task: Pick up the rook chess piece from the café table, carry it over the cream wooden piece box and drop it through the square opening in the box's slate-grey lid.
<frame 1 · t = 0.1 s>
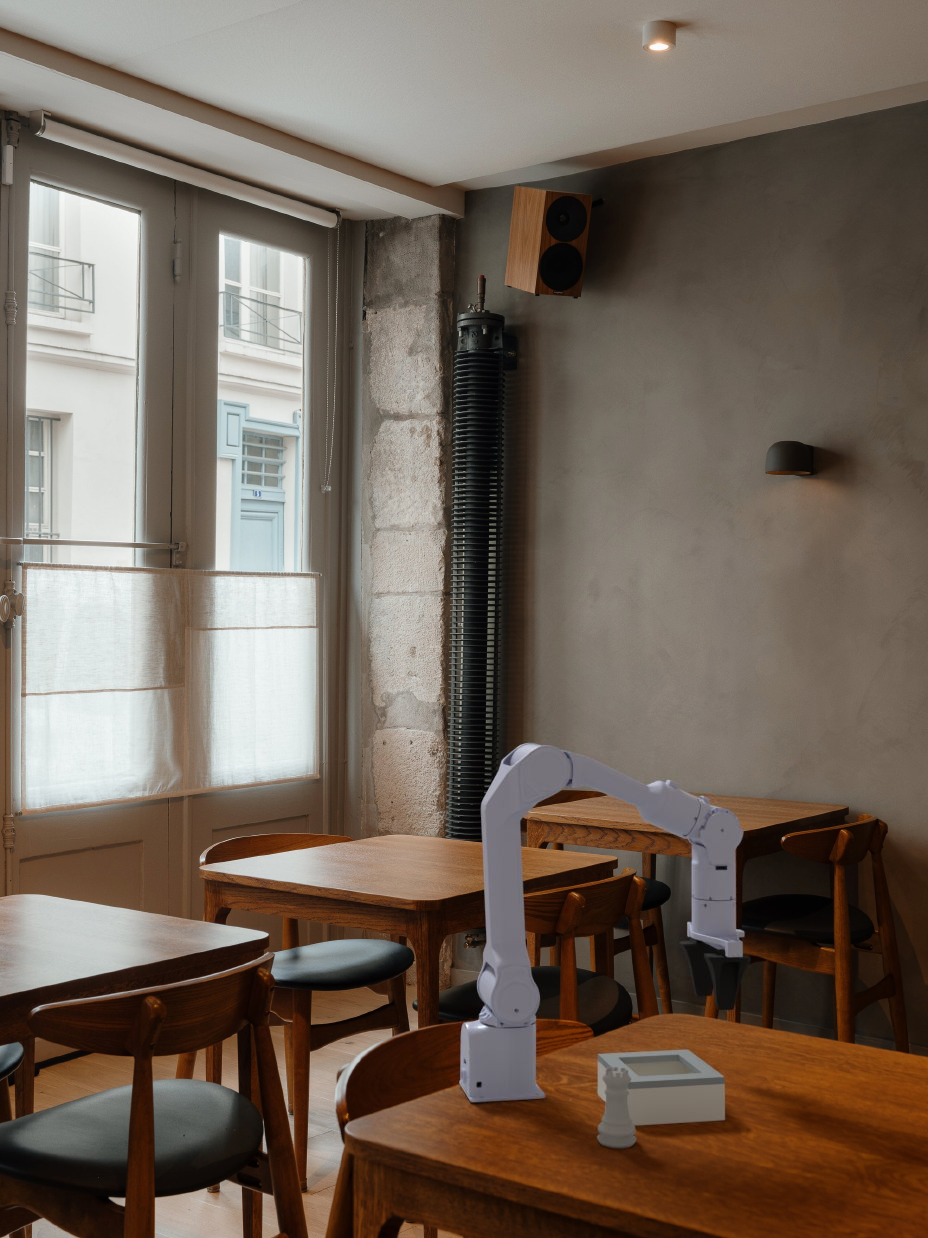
hand: (714, 1002, 166), 10 cm above the table, tool pointing down, fingers open, 7 cm apart
rook chess piece: (616, 1144, 142), on the table
piece box: (659, 1107, 155), on the table
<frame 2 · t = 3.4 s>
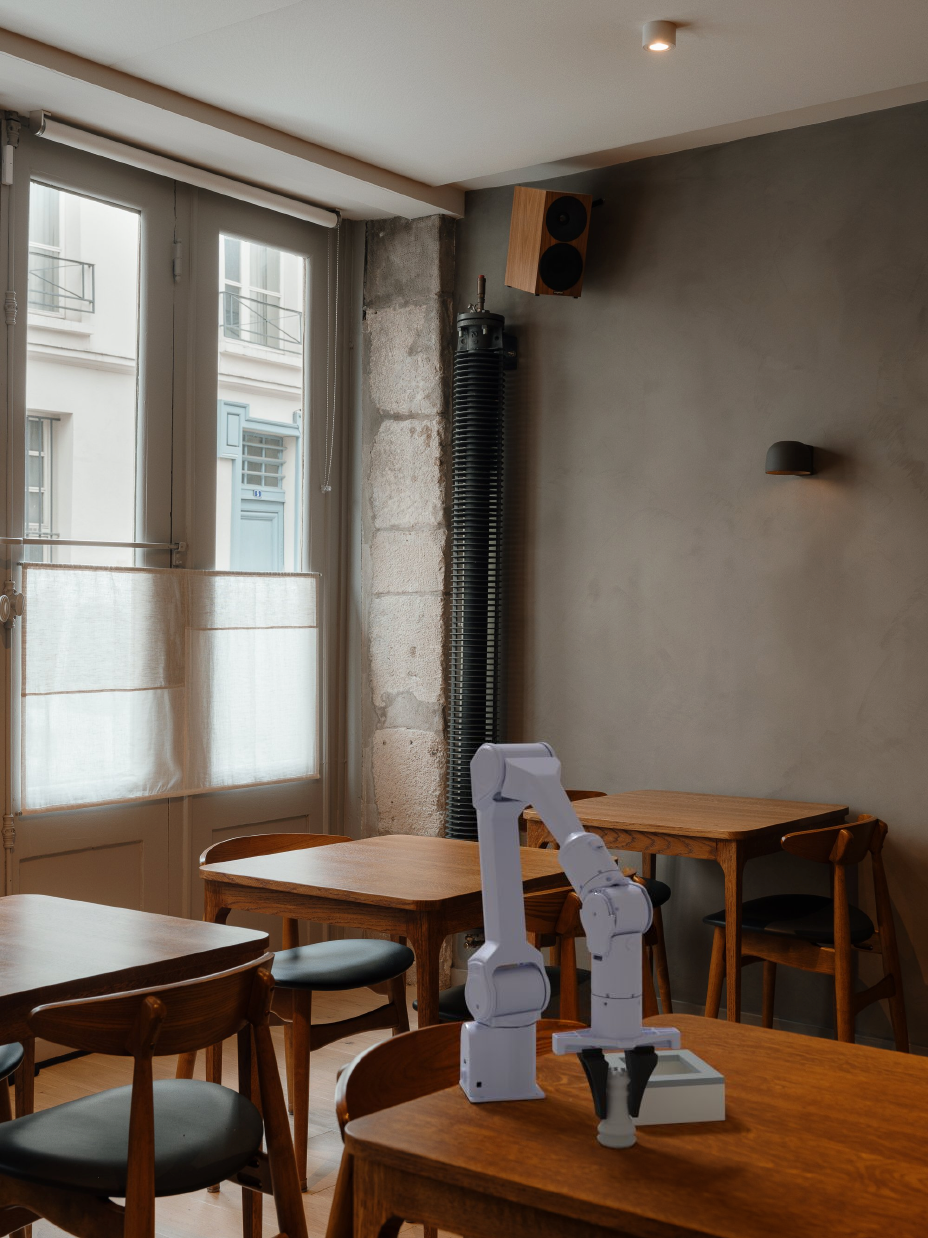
hand: (616, 1116, 143), 3 cm above the table, tool pointing down, fingers closed on rook chess piece, 3 cm apart
rook chess piece: (616, 1144, 142), on the table, touching gripper
when the fingers open (6 cm above the table, at t = 10.2 s): rook chess piece stays where it is, resting on piece box.
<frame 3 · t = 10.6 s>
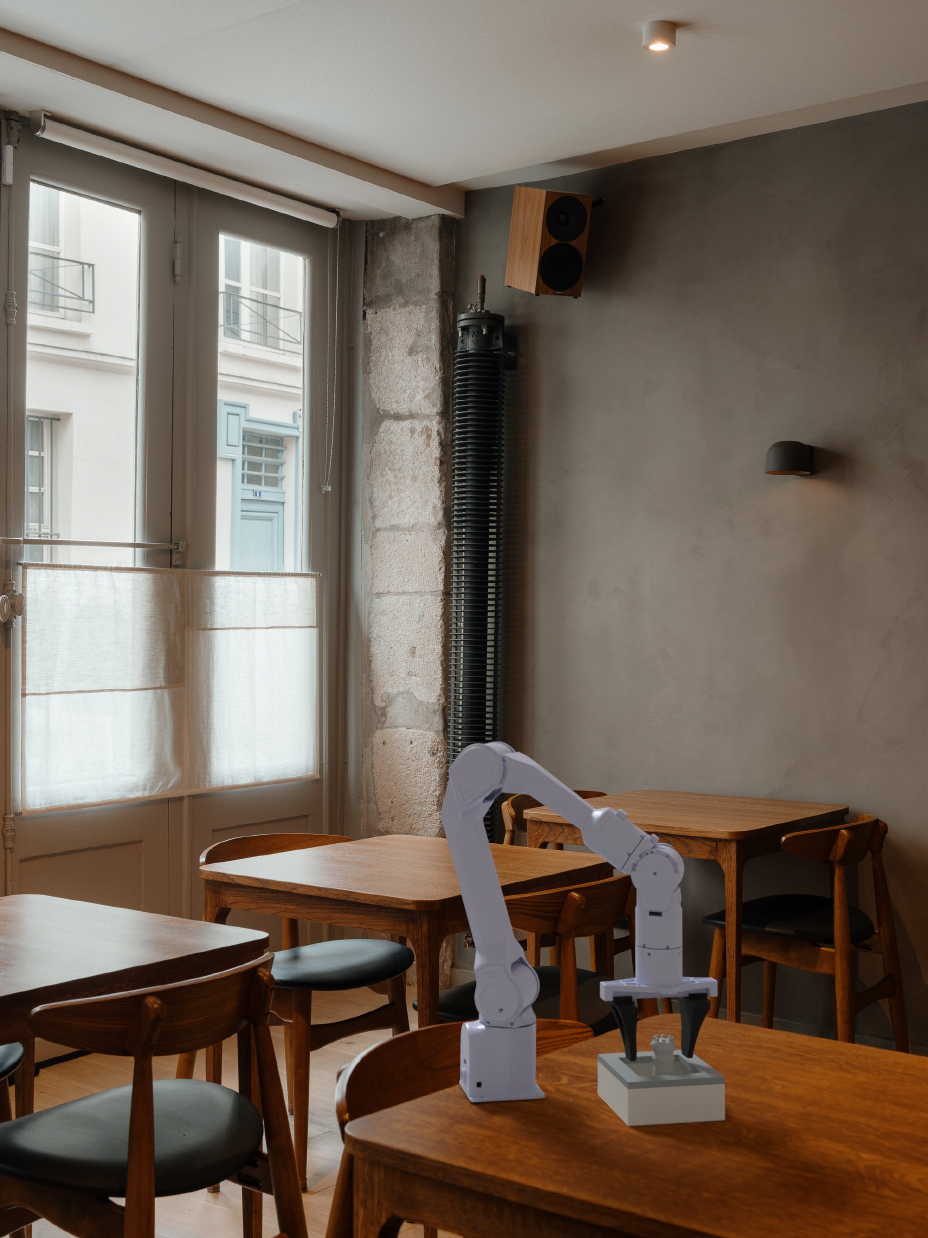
hand: (659, 1057, 155), 6 cm above the table, tool pointing down, fingers open, 7 cm apart
rook chess piece: (663, 1106, 154), resting on piece box
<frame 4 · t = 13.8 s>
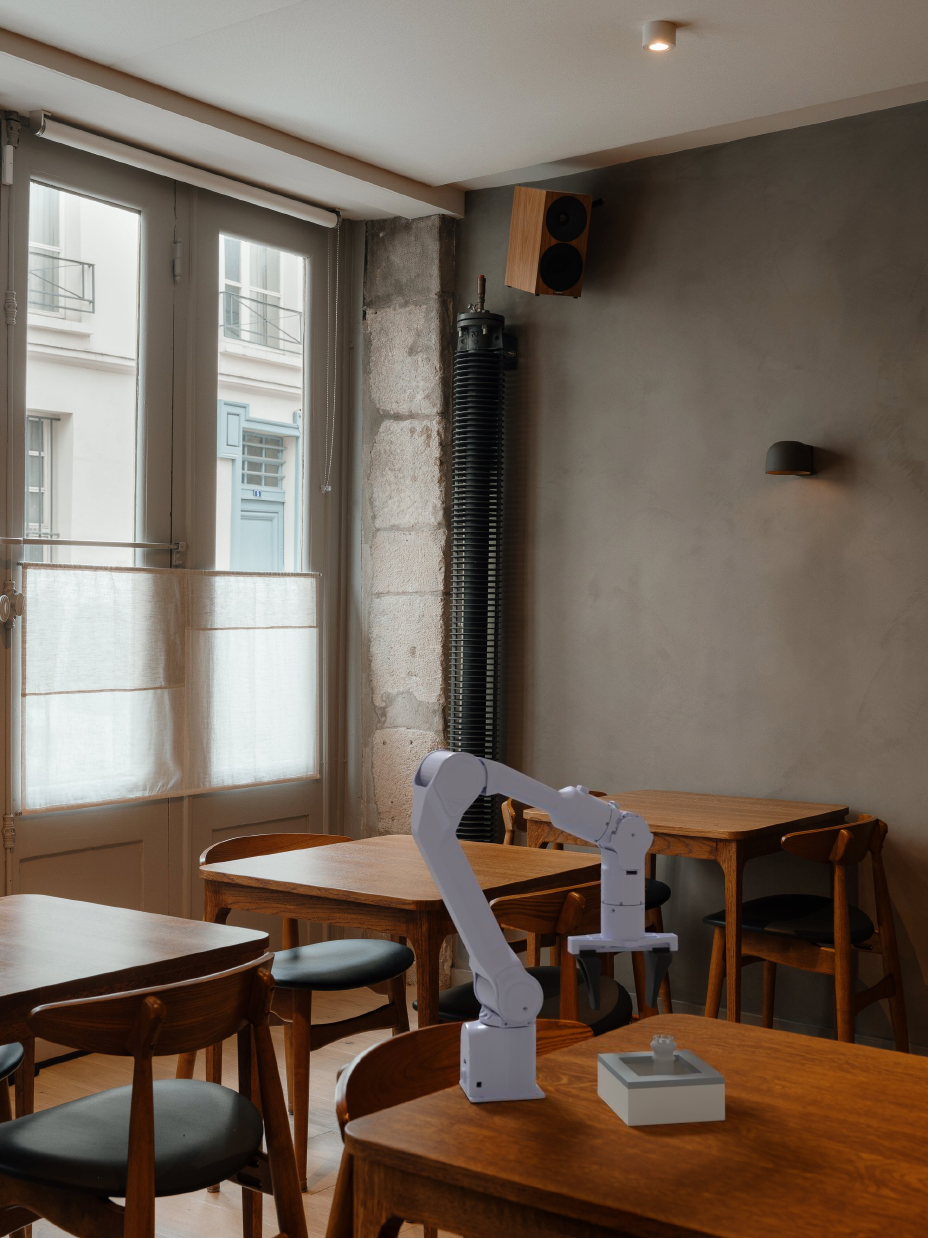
hand: (623, 1007, 166), 9 cm above the table, tool pointing down, fingers open, 7 cm apart
nothing on the table moved.
at the end: rook chess piece inside the target area on the piece box (1.0 cm from its centre), point 0.4 cm above the piece box's base; the gripper is holding nothing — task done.
